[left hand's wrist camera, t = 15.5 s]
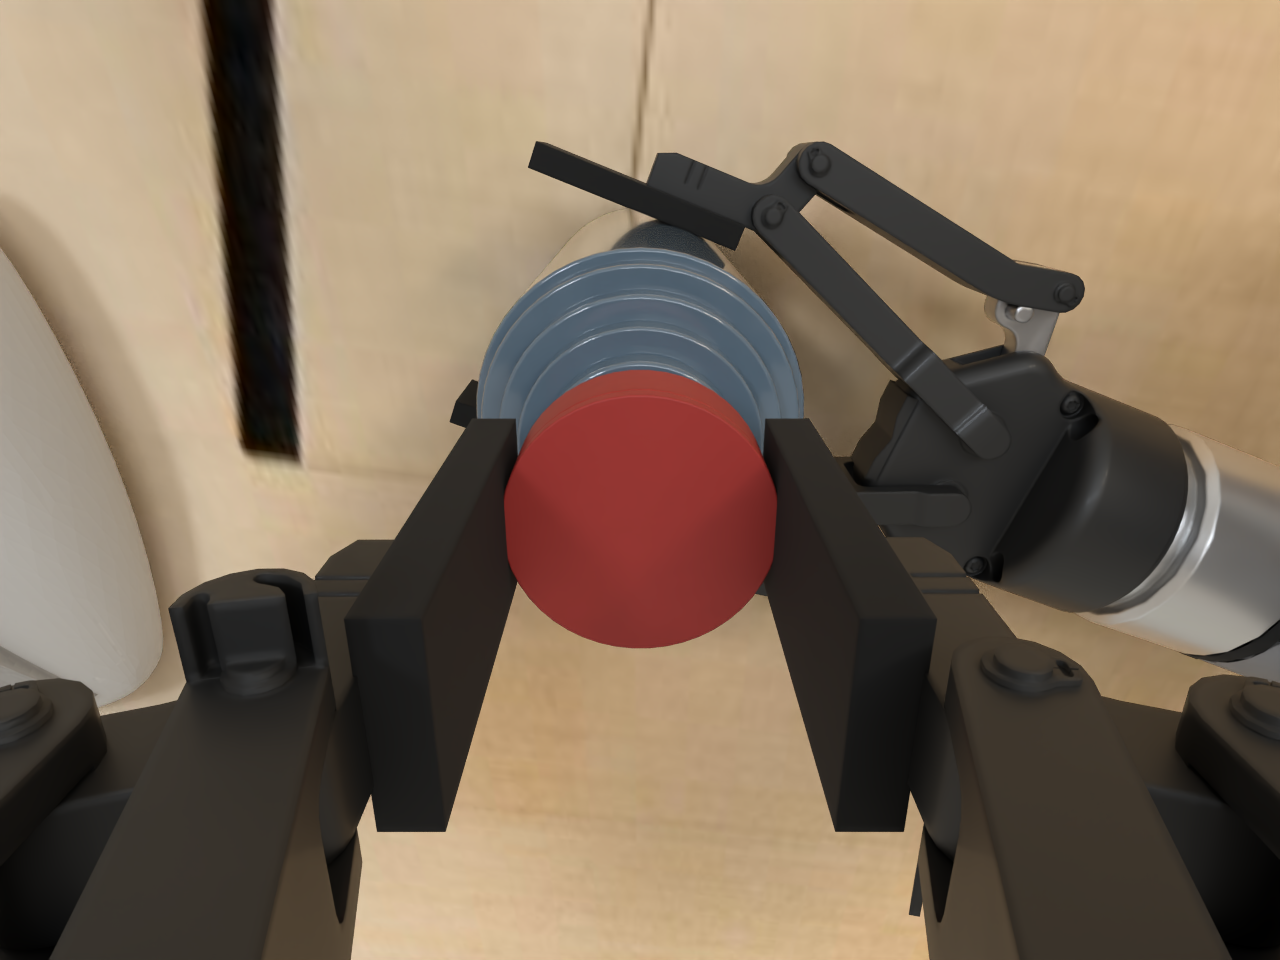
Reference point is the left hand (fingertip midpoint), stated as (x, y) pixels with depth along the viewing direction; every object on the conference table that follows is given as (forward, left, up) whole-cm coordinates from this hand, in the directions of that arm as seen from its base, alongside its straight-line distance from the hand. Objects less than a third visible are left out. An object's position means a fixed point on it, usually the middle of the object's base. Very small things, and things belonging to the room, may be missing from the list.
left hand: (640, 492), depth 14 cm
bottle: (0, 0, -19) cm, 19 cm away
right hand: (-5, -2, -13) cm, 14 cm away
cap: (0, 0, +1) cm, 1 cm away
